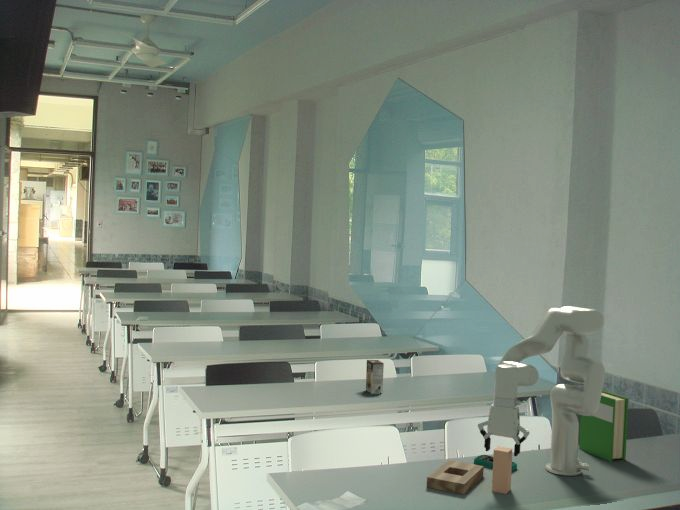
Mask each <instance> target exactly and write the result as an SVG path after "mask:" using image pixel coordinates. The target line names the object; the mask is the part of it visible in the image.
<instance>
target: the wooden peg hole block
mask: <svg viewBox="0 0 680 510" xmlns="http://www.w3.org/2000/svg"><path fill="white" fill-rule="evenodd" d="M484 468H485V467H484V466H480V465H476V464H474V463H469V462H462V461H456V460H452V459H448V460H447V461H445V462H444V463H443V464H442V465H440V466H439V467H437V468H436V469H435V470H434V471H432V473H430V474H429V475H428V476H427V477H426V488H428V489H434V490H439V491H444V492H449V493H453V494H459V495H463V496H464V495H465V494H466V493H467V492H468V491H469V490H471V488H472V487H474V486H475V485H476V484H477V483H478V482H479V481H480V480H481V479H482V478H483V477H484V470H485V469H484Z"/></svg>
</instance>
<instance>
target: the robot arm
mask: <svg viewBox="0 0 680 510" xmlns="http://www.w3.org/2000/svg"><path fill="white" fill-rule="evenodd" d="M604 324H605V318H604V315H603V314H602V312H601V311H599V310H598V309H596V308H587V307H580V306H573V305H566V306H565V305H564V306H562V307H560V308H559V307H551V308H550V309H548V310H547V311H546V312H545V314H544V315H543V316H542V318H541V320H540V321H539V323H538V324H537V325H536V327H535V329H534V330H533V331H532V333H531V334H530V335H529V336H528V337H526V338H524V339H522V340H521V341H519V342H517V343H516V344H514V345H512V346H511V347H510V348H508V349H507V351H506V352H505V353H504V355H503V356H502V358H501V360H500V361H499V363H498V365H497V366H496V367H495V369H494V371H495V372H494V385H493V386H494V387H493V401H492V402H493V403H491V405H490V408H489V414H488V420H485V421H482V422H479V423H478V424H477V427H478V430H479V433H480V434H481V436H482V438H483V439H484V443H483V444H484V445H483V446H484V448H485V452H489V451H490V450H491V440H492V439H491V436H498V437H503V438H509V439H513V441H514V442H515V443H514V447H513V449H514V450H513V456H514V457H517V456H518V455H519V454H521V444H522V443H524V441H526V440H527V438H528V437H529V435H530V431H529V430H528V429H526V428H524V427H523V426H522V425H521V420H520V419H521V415H520V408H519V407H518V406H520V405H521V404H522V401H521V400H519V399H518V387H525V388H526V387H527V388H528V387H529V388H530V387H532V386H534V385H535V384H536V383H538V380H539V376H540V374H539V371H538V369H537V368H536V367H535V366H533V365H532V364H528V363H523V362H522V361H523V360H525V359H528V358H532V357H535V356H540V355H544V354H548V353H550V352H551V351H552V350H553V348H554V346H555V345H556V344H557V342H558V341H559V338H561V336H562V335H564V339H565V340H564V342H565V344H564V348H563V355H562V358H561V364H560V376H561V377H562V379H564V380H567V381H569V382H573V383H577V384H583V386H584V387H582V386H577V385H572V384H566V383H560V384H556V385H554V386H553V387H552V389H551V391H550V396H549V398H550V405H551V417H552V418H551V419H552V420H551V435H550V437H551V438H550V439H551V440H550V441H551V442H550V459H549V460H550V461H549V462H547V463H546V465H545V470H546V471H548V472H549V473H552V474H554V475H560V476H566V477H568V476H569V477H571V476H578V475H580V474H581V473H582V470H584V471H588V472H590V469H591V467H590V465H589V464H588V463H583V462H581V461H580V457H579V456H578V455H579V453H578V452H579V440H580V422H579V418H578V416H577V415H580V416H581V415H584V416H592V415H594V414H595V413H596V412H597V410H598V408H599V404H600V400H601V394H602V390H604V384H605V383H604V382H605V378H606V369H605V366H604V364H603V363H602V361H600V360H598V359H595V358H591V357H589V350H590V340H589V338H588V335H591V334H597V333H598V332H600V331H601V330H602V329H603V326H604ZM485 426H487V428H486V430H487V431H486V430H485V428H484V427H485ZM520 433H522V434H523V435H522V437H520V436H519V435H520Z"/></svg>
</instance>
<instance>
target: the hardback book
mask: <svg viewBox="0 0 680 510" xmlns="http://www.w3.org/2000/svg"><path fill="white" fill-rule="evenodd" d="M629 399H630V398H629V397H625V396H623V395H619V394H615V393H612V392H609V391H605V390H604V389H602V394H601V400H600V404H599V408H598V410H597V412H596V413H595V414H594V415H592V416H584V415H580V422H579V440H578V450H582V451H585V452H587V453H589V454H592V455H594V456H595V457H599V458H600V459H604V460H606V461H608V462H609V463H610V462H613V460H615V459H620V460H622V461H626V457H627V437H628V419H629V418H628V417H629Z"/></svg>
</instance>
